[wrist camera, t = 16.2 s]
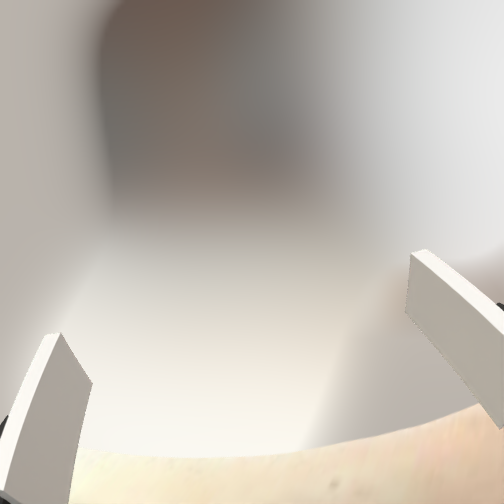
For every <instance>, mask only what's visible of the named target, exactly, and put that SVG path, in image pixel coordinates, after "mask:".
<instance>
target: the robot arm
mask: <svg viewBox="0 0 504 504" xmlns="http://www.w3.org/2000/svg"><path fill="white" fill-rule="evenodd" d="M405 313H406V314H407V315H408V316H409V317H410V319H411V320H412V321H413V322H414V323H415V324H416V325H417V327H418V328H419V329H420V330H421V331H422V332H423V333H424V335H425V336H426V337H427V338H428V339H429V341H430V342H431V343H432V344H433V345H434V347H435V348H436V349H437V350H438V351H439V353H440V354H441V355H442V356H443V357H444V359H445V360H446V361H447V362H448V363H449V365H450V366H451V367H452V368H453V370H454V371H455V372H456V373H457V375H458V376H459V377H460V378H461V380H462V381H463V382H464V383H465V385H466V386H467V387H468V388H469V390H470V391H471V392H472V393H473V395H474V396H475V397H476V399H477V400H478V401H479V403H480V404H481V405H482V407H483V408H484V409H485V411H486V412H487V413H488V415H489V416H490V417H491V419H492V420H493V421H494V423H495V424H496V425H497V427H498V428H499V430H500V429H501V428H503V427H504V305H503V304H501V303H497V304H495V303H494V302H493V301H491V300H490V299H489V298H488V297H487V296H485V295H484V294H483V293H482V292H481V291H480V290H478V289H477V288H476V287H475V286H473V285H472V284H471V283H470V282H469V281H467V280H466V279H465V278H463V277H462V276H461V275H460V274H459V273H457V272H456V271H455V270H453V269H452V268H451V267H450V266H448V265H447V264H446V263H444V262H443V261H442V260H441V259H439V258H438V257H436V256H435V255H434V254H433V253H431V252H430V251H429V250H427V249H424V250H420V251H417V252H413V253H411V255H410V269H409V280H408V291H407V300H406V309H405ZM92 384H93V383H92V382H91V380H90V379H89V377H88V376H87V374H86V373H85V371H84V370H83V368H82V367H81V365H80V364H79V362H78V360H77V359H76V357H75V356H74V354H73V352H72V351H71V349H70V347H69V346H68V344H67V342H66V341H65V339H64V337H63V335H62V334H61V333H54V334H48V335H45V337H44V339H43V341H42V343H41V345H40V347H39V349H38V351H37V353H36V355H35V357H34V359H33V361H32V363H31V365H30V368H29V370H28V372H27V374H26V376H25V379H24V381H23V383H22V385H21V388H20V390H19V392H18V395H17V397H16V399H15V402H14V404H13V407H12V409H11V412H10V414H9V416H8V415H7V417H6V418H5V419H4V421H3V422H2V423H1V425H0V504H68V501H69V494H70V488H71V481H72V475H73V469H74V464H75V458H76V453H77V448H78V443H79V438H80V433H81V428H82V424H83V420H84V416H85V411H86V407H87V403H88V399H89V395H90V391H91V387H92Z"/></svg>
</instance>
